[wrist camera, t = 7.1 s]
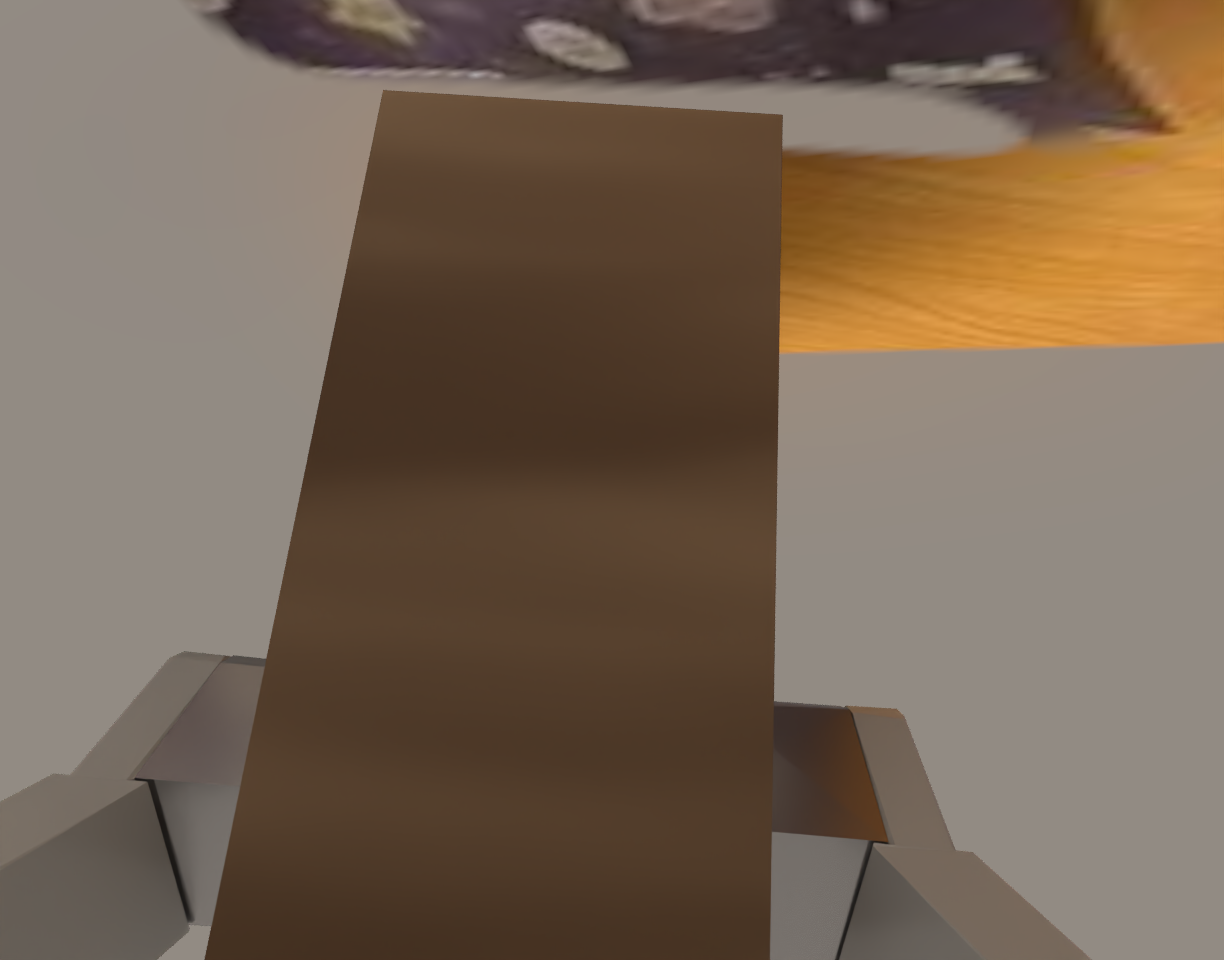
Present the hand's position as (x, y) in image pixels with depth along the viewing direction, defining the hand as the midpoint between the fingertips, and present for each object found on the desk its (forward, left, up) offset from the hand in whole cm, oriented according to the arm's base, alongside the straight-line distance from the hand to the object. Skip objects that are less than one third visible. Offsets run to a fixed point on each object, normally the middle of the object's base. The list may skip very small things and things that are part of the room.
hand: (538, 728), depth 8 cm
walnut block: (0, 0, -6) cm, 6 cm away
